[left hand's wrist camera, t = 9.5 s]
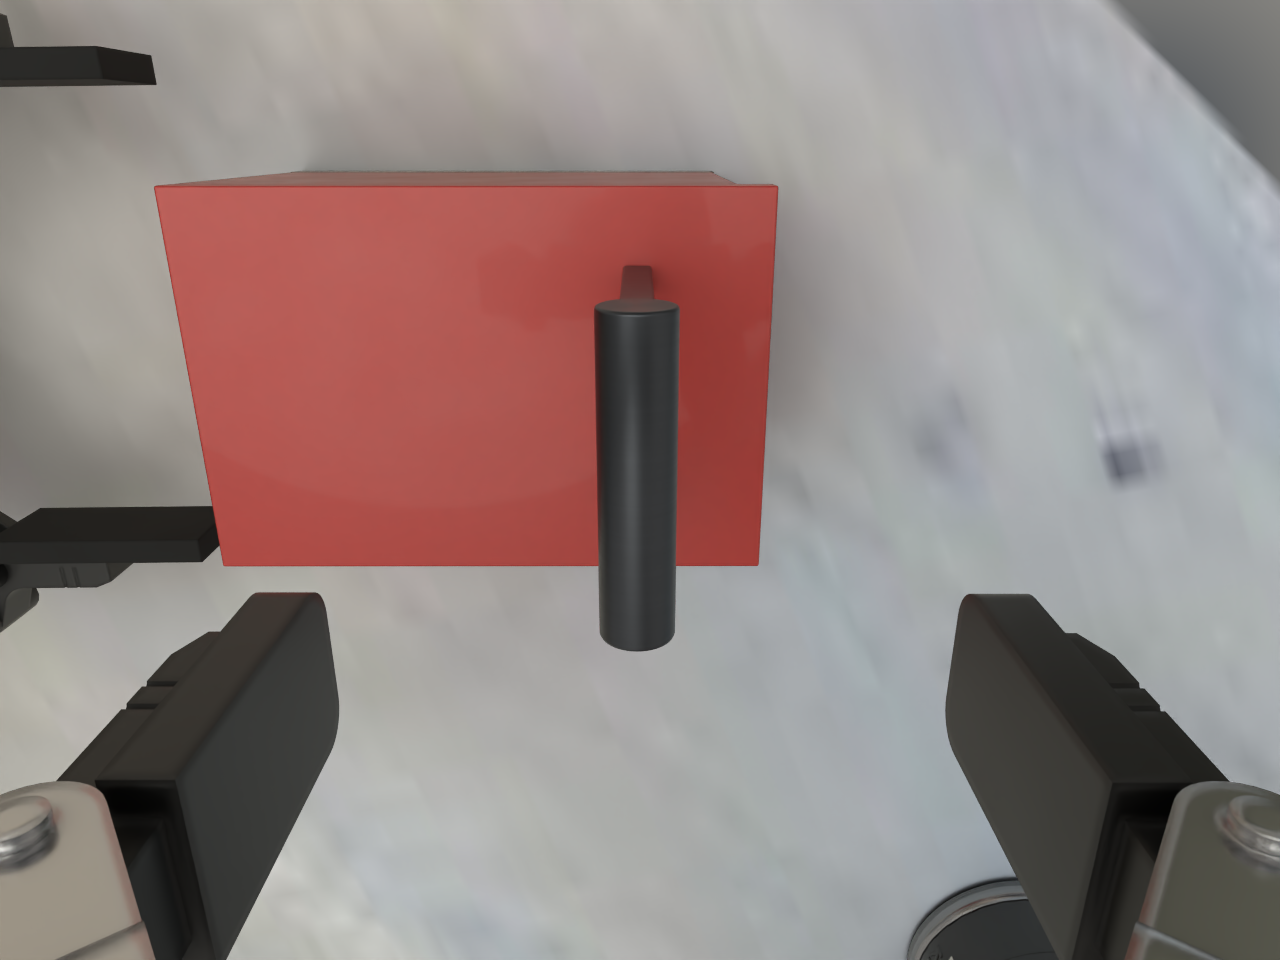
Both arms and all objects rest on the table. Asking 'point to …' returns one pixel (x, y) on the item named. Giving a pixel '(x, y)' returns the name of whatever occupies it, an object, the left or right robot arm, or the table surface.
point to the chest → (480, 177)
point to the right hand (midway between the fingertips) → (179, 321)
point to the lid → (482, 376)
